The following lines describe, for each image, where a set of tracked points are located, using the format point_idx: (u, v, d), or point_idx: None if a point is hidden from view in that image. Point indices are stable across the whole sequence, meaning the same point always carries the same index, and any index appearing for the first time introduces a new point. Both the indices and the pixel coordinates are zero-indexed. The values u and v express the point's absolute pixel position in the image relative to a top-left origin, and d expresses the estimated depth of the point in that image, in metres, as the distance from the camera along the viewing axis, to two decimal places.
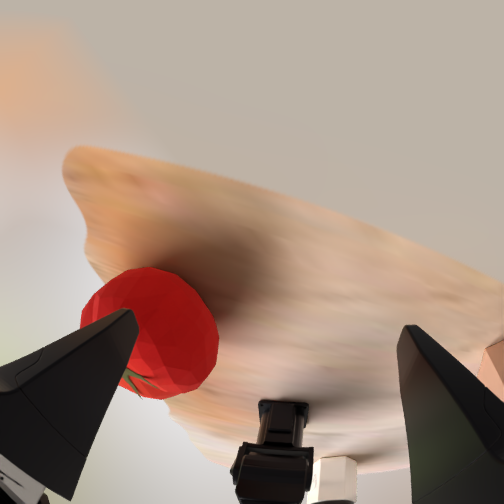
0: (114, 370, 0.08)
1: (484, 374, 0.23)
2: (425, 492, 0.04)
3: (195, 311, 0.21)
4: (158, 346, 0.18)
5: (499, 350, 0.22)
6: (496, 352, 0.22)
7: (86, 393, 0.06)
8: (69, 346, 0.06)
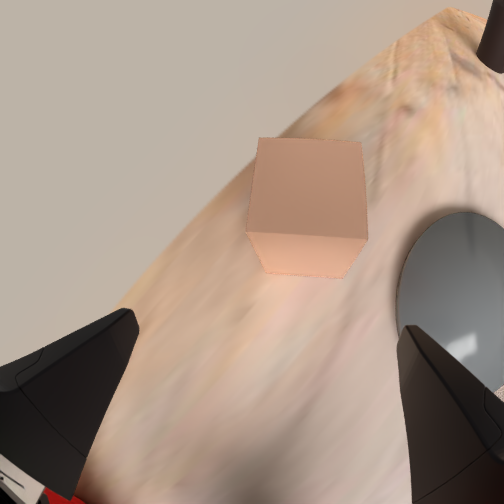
0: (114, 370, 0.08)
1: (309, 271, 0.20)
2: (425, 492, 0.04)
3: (46, 491, 0.14)
4: None
5: None
6: None
7: (86, 393, 0.06)
8: (69, 346, 0.06)
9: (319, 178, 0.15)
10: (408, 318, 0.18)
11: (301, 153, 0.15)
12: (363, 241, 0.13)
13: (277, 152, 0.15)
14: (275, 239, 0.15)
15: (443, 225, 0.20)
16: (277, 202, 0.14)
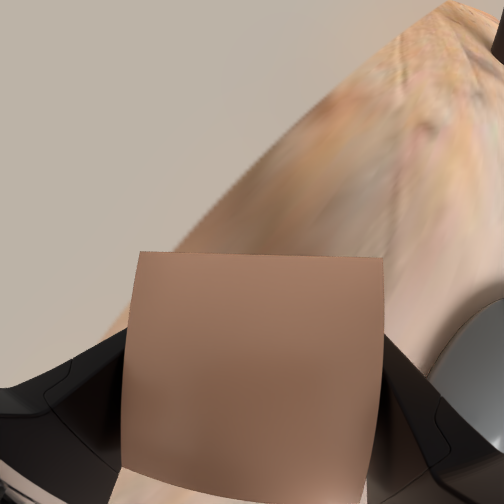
0: None
1: None
2: (378, 502, 0.04)
3: None
4: None
5: None
6: None
7: (120, 406, 0.06)
8: (102, 357, 0.06)
9: (265, 378, 0.06)
10: None
11: (227, 302, 0.06)
12: (351, 499, 0.04)
13: (172, 297, 0.07)
14: None
15: (484, 324, 0.11)
16: (171, 429, 0.05)
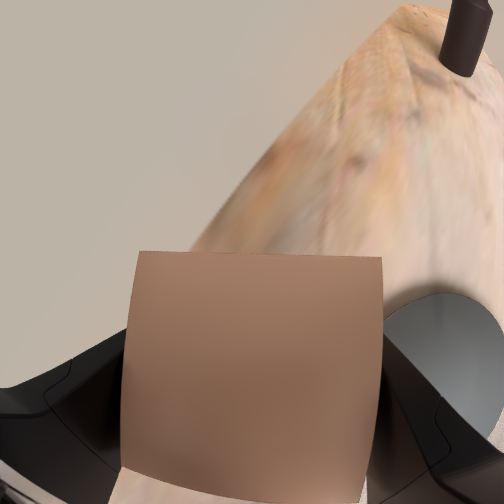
0: None
1: None
2: (377, 501, 0.04)
3: None
4: None
5: None
6: None
7: (120, 406, 0.06)
8: (102, 357, 0.06)
9: (265, 377, 0.06)
10: None
11: (226, 302, 0.06)
12: (350, 498, 0.04)
13: (172, 296, 0.07)
14: None
15: (397, 321, 0.19)
16: (170, 428, 0.05)
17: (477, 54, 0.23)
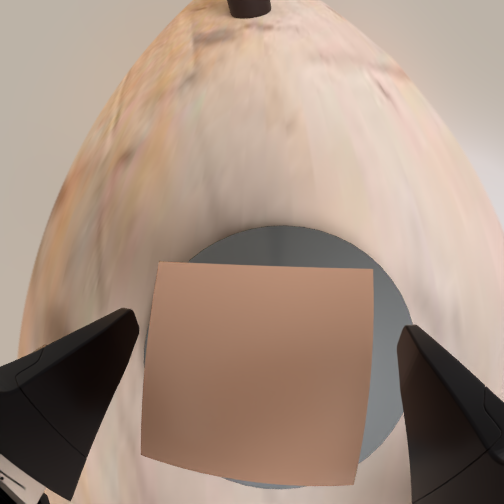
0: (114, 370, 0.08)
1: None
2: (426, 492, 0.04)
3: None
4: None
5: None
6: None
7: (86, 393, 0.06)
8: (69, 346, 0.06)
9: (272, 372, 0.07)
10: None
11: (238, 307, 0.07)
12: (346, 481, 0.05)
13: (190, 302, 0.08)
14: None
15: None
16: (188, 418, 0.07)
17: None
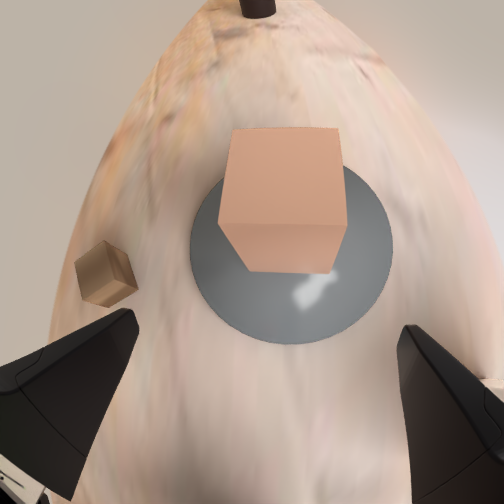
0: (114, 370, 0.08)
1: (293, 267, 0.20)
2: (426, 492, 0.04)
3: None
4: None
5: None
6: None
7: (86, 393, 0.06)
8: (69, 346, 0.06)
9: (294, 165, 0.14)
10: (211, 295, 0.22)
11: (275, 142, 0.15)
12: (343, 227, 0.13)
13: (251, 142, 0.15)
14: (250, 230, 0.14)
15: (214, 196, 0.25)
16: (250, 192, 0.14)
17: None
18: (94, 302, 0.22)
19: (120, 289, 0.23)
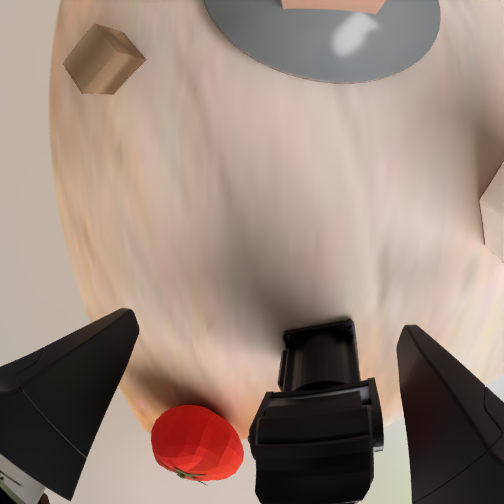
0: (114, 370, 0.08)
1: (339, 0, 0.10)
2: (425, 492, 0.04)
3: (156, 421, 0.29)
4: (154, 451, 0.26)
5: None
6: None
7: (86, 393, 0.06)
8: (69, 346, 0.06)
9: None
10: (241, 37, 0.14)
11: None
12: None
13: None
14: None
15: None
16: None
17: None
18: (96, 91, 0.16)
19: (125, 64, 0.15)
